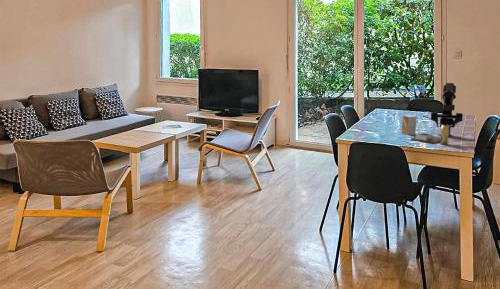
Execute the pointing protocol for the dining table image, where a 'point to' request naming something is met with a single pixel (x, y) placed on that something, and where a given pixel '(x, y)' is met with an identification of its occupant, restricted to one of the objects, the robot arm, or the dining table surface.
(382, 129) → the dining table surface
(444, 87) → the robot arm
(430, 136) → the hinge clip
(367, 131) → the dining table surface
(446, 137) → the hinge pin
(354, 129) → the dining table surface
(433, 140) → the cabinet panel
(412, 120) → the small box
